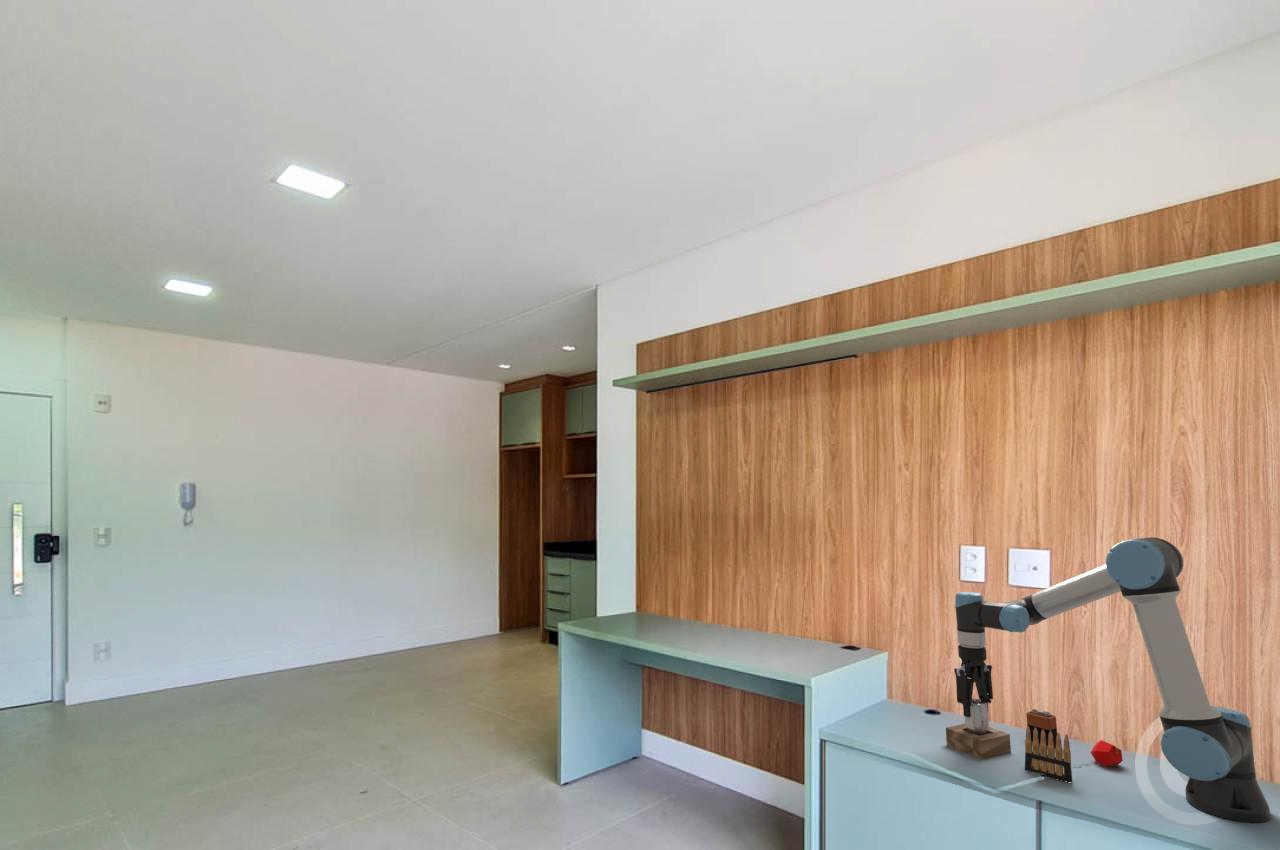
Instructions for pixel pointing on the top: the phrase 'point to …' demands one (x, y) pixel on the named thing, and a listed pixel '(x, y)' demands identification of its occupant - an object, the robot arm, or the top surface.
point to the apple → (1106, 754)
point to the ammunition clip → (1048, 756)
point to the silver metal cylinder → (979, 718)
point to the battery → (1042, 724)
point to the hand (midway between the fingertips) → (977, 726)
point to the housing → (978, 741)
